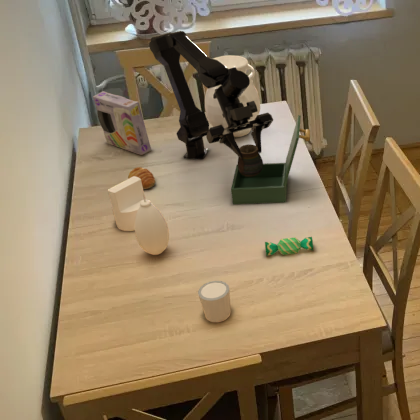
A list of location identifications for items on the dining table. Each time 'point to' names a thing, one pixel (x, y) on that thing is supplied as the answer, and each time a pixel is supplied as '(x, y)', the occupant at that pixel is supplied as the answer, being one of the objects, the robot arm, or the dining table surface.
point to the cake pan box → (122, 122)
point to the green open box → (260, 186)
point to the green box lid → (294, 147)
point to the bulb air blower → (151, 228)
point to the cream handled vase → (248, 95)
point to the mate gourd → (250, 161)
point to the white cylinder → (215, 300)
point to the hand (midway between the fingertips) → (251, 155)
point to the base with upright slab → (126, 202)
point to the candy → (289, 246)
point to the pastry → (143, 177)
